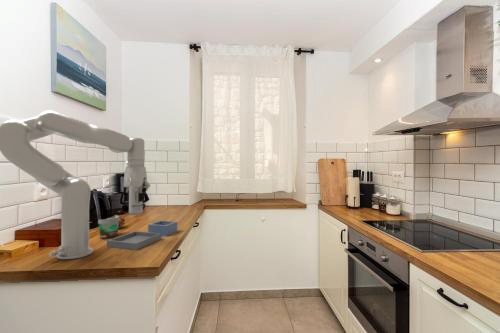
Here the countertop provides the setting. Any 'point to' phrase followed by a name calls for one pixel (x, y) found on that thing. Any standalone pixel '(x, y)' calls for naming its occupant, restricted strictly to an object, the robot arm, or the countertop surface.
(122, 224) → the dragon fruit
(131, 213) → the energy drink can
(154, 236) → the tray
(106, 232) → the food container
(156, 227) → the blue square box
